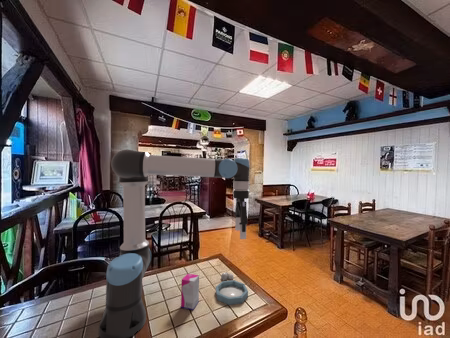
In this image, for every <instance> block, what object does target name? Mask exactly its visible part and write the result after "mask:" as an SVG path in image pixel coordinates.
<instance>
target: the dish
mask: <svg viewBox="0 0 450 338" xmlns="http://www.w3.org/2000/svg"><path fill="white" fill-rule="evenodd" d="M215 295H216V300H217V301H219V302H221V303H224V304H226V305H228V306H231V305H238V304H239V305H240V304H243V303H244V301H246V299H247V298H248V297H249V290H248V288H247V287H246V285H245V283H243V282H240V281H237V280H234V279H232V280H222V281H221V282H220V283H218V284H217V285H216V286H215Z"/></svg>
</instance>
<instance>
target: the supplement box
mask: <svg viewBox="0 0 450 338" xmlns="http://www.w3.org/2000/svg"><path fill="white" fill-rule="evenodd" d="M180 288H181V292H180V293H181V295H180V296H181V297H180V298H181V299H180V308H181V309H186V310H191V311H194V310H195V308H196V307H197V305H198V304H199V301H200V297H199V296H200V294H199V293H200V275H198V274H194V273H187V274H186V275H184V277H183V278H182V279H181V287H180Z"/></svg>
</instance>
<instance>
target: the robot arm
mask: <svg viewBox="0 0 450 338" xmlns="http://www.w3.org/2000/svg"><path fill="white" fill-rule="evenodd" d="M110 164H111V165H110V166H111V169H112V171H113V173H114V174H115V175H116V176H118V179H119V180H118V183H119V184H120V185H121V186H122V188H123V190H122V191H123V193H122V194H123V196H122V199H123V201H122V203H123V242H122V244H121V245H120V246H119V255H118V256H117V257H114V258H113V259H112V260H111V261H110V262H109V263H108V264H107V269H106V274H105V278H106V281H105V282H106V284H105V287H106V288H105V308H104V310H103V311H104V312H103V314H102V316H101V319H100V322H99V325H98V336H99V338H131V337H133V336H135V335H134V333H136V332H137V331H138V332H140V331H141V330H142V329H143V327H144V325H145V324H146V320H147V311H146V308H145V305H144V302H143V299H142V297H143V296H142V294H143V293H142V291H143V288H142V287H143V278H144V276H145V275H146V272H147V269H148V268H149V266H150V264H151V261H152V251H151V250H150V241H149V240H147V239H146V194H145V193H146V190H145V188H146V187H145V186H146V185H147V184H148V183H149V176H150V175H151V176H152V175H155V176H177V177H200V178H201V177H202V178H203V177H204V178H218V179H219V178H221V179H222V178H223V179H232V178H233V186H232V187H233V192H232V194H233V198H234V199H235V211H234V216H235V224H234V225H235V226H234V228H235V231H239V240H246V239H247V225H248V224H249V222H248V212H247V211H248V209H247V203H248V202H247V201H245V200H247V199H249V198H250V191H249V190H250V186H251V183H250V168H251V167H250V159H248V158H245V157H236V158H234V159H230V158H224V159H222V158H207V157H205V158H202V157H189V156H177V155H176V156H174V155H173V156H172V155H156V154H150V153H149V152H148V151H139V150H133V149H122V150H119V151H118V152H116V153H115V154H114V155H113V156H112V159H111V162H110ZM140 329H141V330H140ZM139 330H140V331H139ZM138 332H137V333H138ZM137 333H136V334H137Z"/></svg>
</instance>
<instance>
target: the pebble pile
mask: <svg viewBox="0 0 450 338" xmlns="http://www.w3.org/2000/svg"><path fill="white" fill-rule="evenodd" d="M220 277H221V280H222V281H228V280H229V281H231V280H234V274H233V273H229V272H223V273H221V276H220Z"/></svg>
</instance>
